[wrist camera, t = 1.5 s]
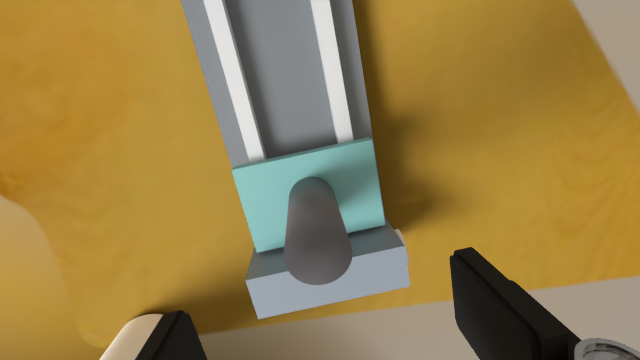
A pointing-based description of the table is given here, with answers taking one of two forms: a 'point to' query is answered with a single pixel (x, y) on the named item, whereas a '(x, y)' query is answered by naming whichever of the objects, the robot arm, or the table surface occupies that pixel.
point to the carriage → (312, 206)
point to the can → (132, 338)
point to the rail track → (293, 122)
